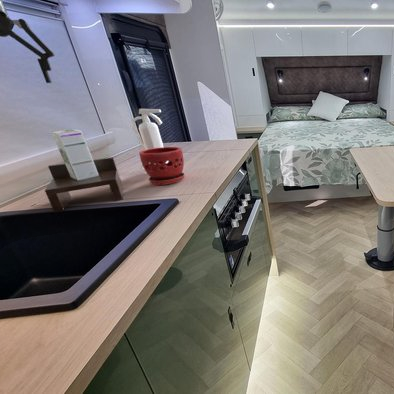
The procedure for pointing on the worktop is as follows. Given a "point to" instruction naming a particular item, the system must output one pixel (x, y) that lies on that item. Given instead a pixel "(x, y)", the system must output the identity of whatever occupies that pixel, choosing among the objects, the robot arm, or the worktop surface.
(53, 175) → the bench
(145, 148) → the fire extinguisher
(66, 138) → the syrup box
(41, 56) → the robot arm
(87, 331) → the worktop surface
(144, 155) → the flower pot
